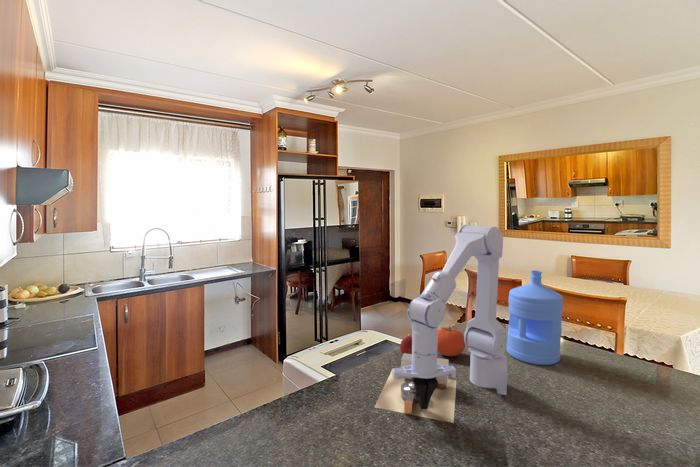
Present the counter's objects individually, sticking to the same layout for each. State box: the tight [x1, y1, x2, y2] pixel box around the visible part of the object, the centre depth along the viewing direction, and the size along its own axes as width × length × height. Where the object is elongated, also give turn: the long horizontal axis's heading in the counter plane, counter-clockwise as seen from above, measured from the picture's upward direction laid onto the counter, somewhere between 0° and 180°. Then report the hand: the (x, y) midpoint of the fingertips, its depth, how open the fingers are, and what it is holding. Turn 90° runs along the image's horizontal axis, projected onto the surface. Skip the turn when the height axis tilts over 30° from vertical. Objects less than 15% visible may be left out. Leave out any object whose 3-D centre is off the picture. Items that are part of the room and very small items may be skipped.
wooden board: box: [374, 370, 457, 424], centre depth 89 cm, size 18×20×3 cm
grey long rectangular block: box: [400, 353, 450, 385], centre depth 93 cm, size 12×4×5 cm, turn 71°
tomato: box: [437, 325, 466, 357], centre depth 114 cm, size 10×10×10 cm
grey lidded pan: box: [401, 381, 419, 416], centre depth 85 cm, size 11×6×3 cm, turn 161°
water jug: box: [506, 270, 564, 366], centre depth 114 cm, size 16×16×28 cm
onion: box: [399, 333, 412, 355], centre depth 111 cm, size 6×6×8 cm
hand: (423, 407), depth 81 cm, fingers closed
